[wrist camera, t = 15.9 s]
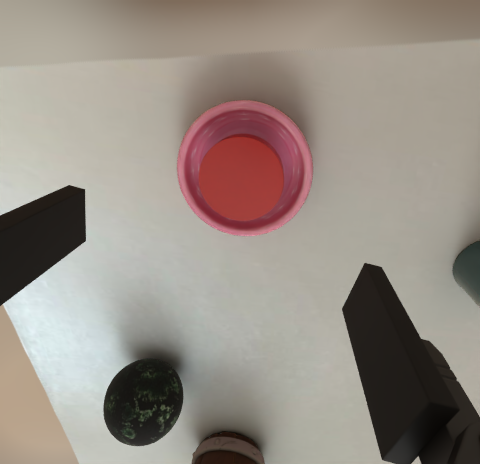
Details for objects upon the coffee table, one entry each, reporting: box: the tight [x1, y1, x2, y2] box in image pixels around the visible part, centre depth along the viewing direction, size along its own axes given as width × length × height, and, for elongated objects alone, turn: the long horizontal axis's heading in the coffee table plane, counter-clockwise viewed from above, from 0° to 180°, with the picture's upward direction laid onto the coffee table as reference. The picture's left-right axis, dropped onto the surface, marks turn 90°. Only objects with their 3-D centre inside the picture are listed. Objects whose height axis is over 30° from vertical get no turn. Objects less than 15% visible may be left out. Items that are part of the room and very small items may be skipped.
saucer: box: [177, 100, 313, 236], centre depth 28 cm, size 12×12×3 cm
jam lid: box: [199, 134, 284, 221], centre depth 26 cm, size 7×7×2 cm
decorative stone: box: [104, 359, 183, 446], centre depth 39 cm, size 10×10×10 cm
